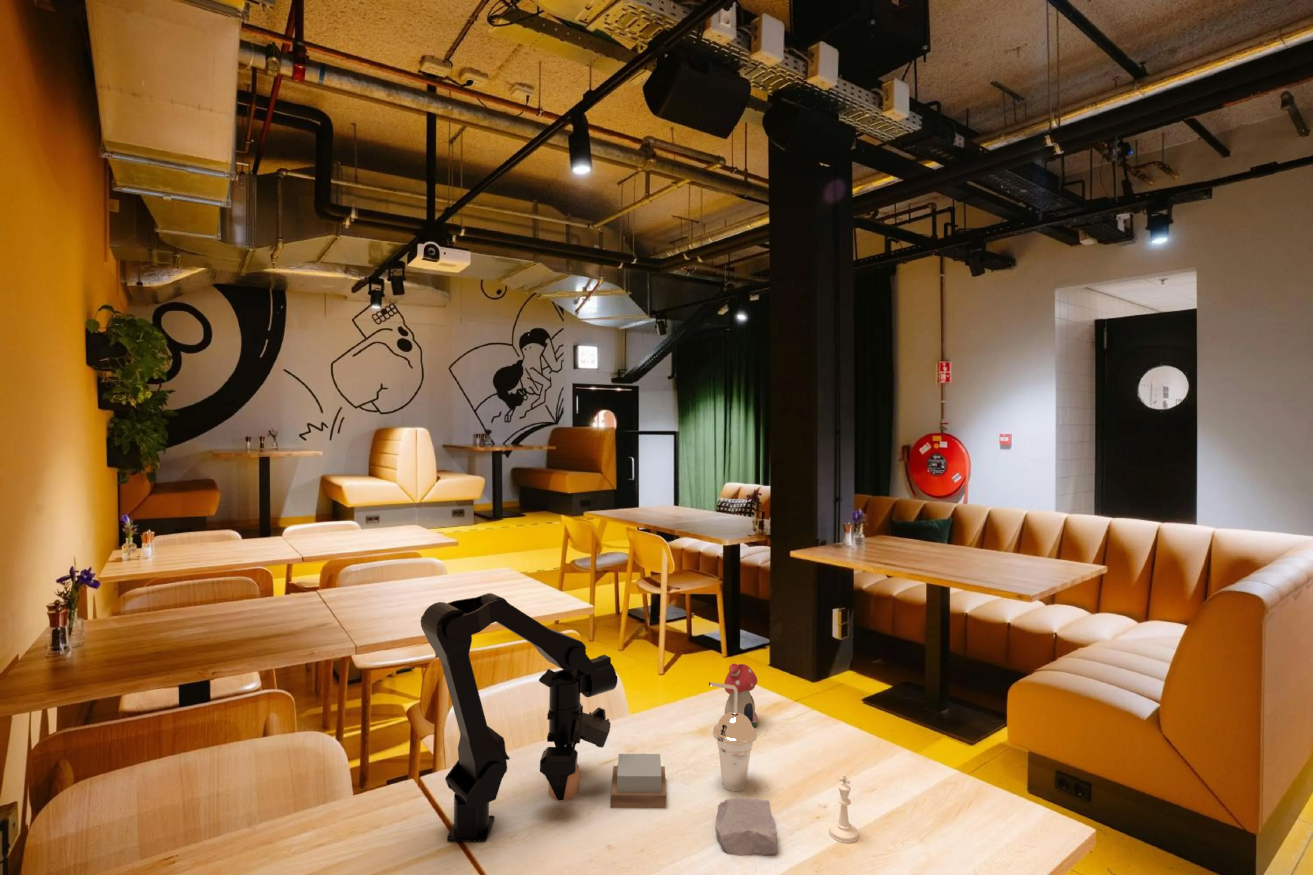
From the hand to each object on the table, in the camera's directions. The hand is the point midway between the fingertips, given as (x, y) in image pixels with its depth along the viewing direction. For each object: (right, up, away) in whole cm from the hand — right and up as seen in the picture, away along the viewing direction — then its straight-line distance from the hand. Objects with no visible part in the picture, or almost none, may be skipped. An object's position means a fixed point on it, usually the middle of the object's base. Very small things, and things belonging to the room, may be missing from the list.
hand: (563, 785), depth 123 cm
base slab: (+14, -2, 0) cm, 14 cm away
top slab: (+14, +1, 0) cm, 14 cm away
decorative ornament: (+37, -1, +28) cm, 46 cm away
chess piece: (+49, -2, -12) cm, 50 cm away
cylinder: (0, -1, 0) cm, 1 cm away
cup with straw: (+32, -2, +3) cm, 32 cm away
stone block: (+32, -2, -12) cm, 34 cm away
